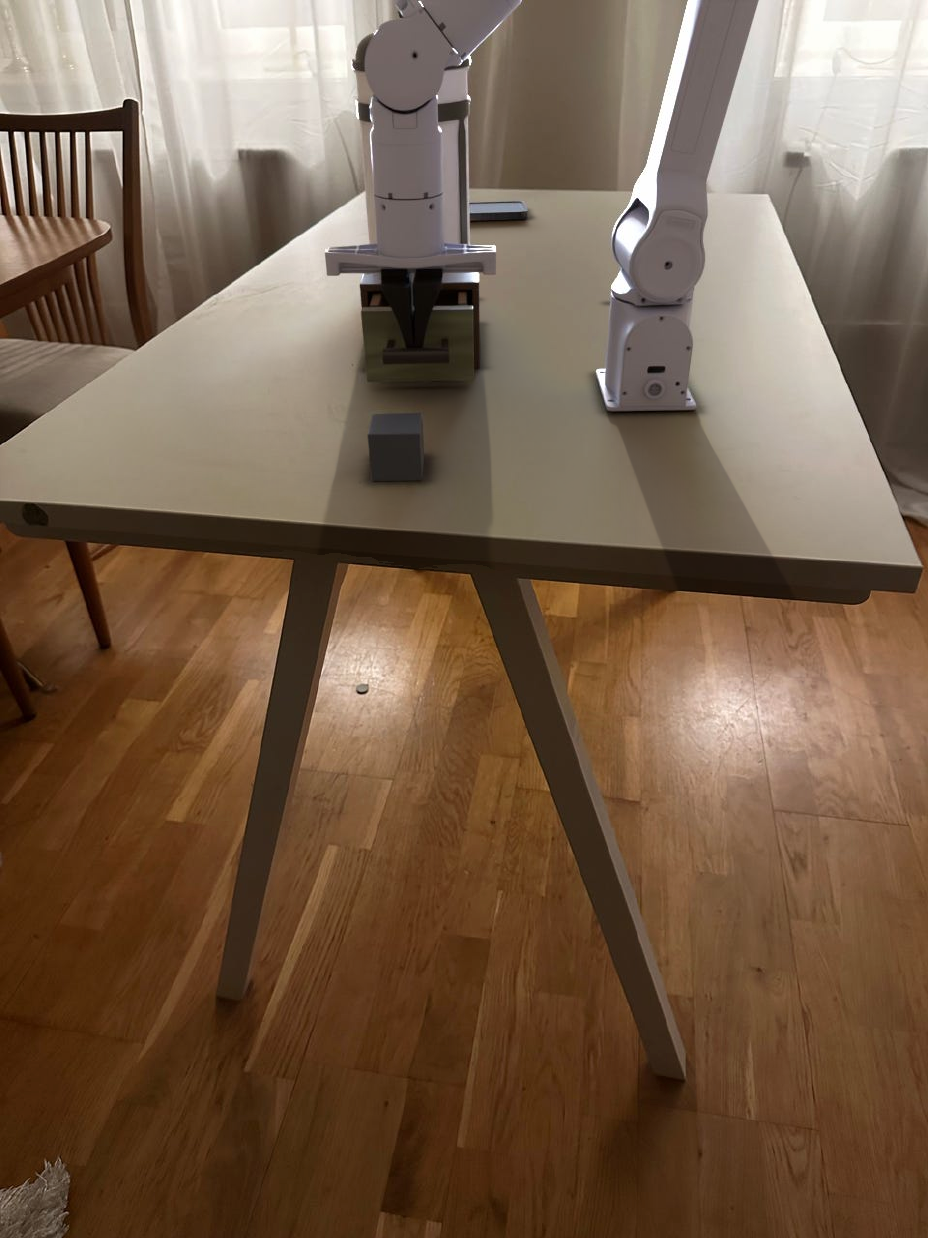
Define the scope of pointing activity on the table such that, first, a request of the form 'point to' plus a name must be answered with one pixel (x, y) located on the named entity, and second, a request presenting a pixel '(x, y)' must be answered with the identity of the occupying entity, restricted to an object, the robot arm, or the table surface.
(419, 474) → the block
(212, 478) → the table surface
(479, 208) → the phone
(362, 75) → the coffee press
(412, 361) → the drawer
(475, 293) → the cabinet
